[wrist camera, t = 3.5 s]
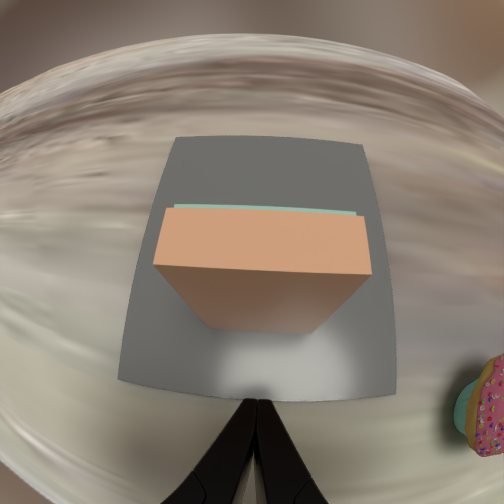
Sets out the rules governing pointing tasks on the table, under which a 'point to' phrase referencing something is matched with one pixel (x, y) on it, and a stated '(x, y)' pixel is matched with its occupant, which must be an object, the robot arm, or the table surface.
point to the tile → (263, 264)
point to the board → (263, 343)
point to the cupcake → (483, 410)
